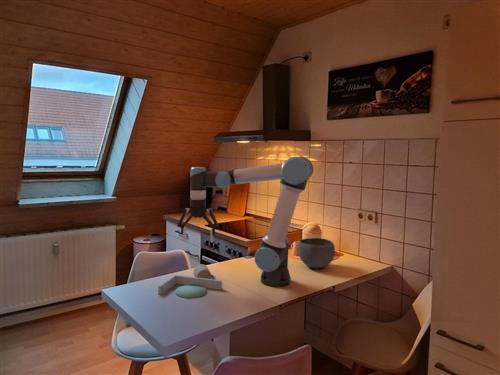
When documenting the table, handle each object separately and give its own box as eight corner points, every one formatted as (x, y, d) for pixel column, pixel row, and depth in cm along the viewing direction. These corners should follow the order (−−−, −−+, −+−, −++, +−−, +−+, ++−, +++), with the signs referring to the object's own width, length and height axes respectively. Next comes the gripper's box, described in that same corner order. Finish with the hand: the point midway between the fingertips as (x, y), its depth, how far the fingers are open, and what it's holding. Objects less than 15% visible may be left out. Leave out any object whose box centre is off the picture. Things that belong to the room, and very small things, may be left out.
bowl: (329, 261, 228) (330, 237, 226) (338, 273, 207) (340, 246, 205) (294, 261, 227) (295, 236, 226) (300, 272, 206) (301, 245, 205)
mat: (210, 288, 178) (210, 287, 178) (199, 299, 165) (199, 298, 165) (183, 285, 182) (183, 283, 182) (170, 295, 169) (170, 293, 168)
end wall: (175, 283, 184) (175, 275, 183) (160, 294, 169) (160, 286, 169) (173, 283, 184) (173, 275, 184) (158, 294, 169) (158, 285, 169)
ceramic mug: (196, 284, 183) (197, 269, 182) (193, 279, 191) (193, 264, 190) (217, 283, 187) (218, 267, 186) (213, 277, 194) (213, 263, 194)
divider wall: (222, 288, 179) (222, 280, 178) (221, 289, 177) (221, 281, 177) (175, 282, 185) (175, 274, 184) (174, 283, 184) (174, 275, 183)
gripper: (224, 198, 188) (224, 240, 190) (174, 197, 189) (175, 238, 191) (222, 200, 181) (222, 243, 183) (170, 199, 182) (171, 242, 184)
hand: (198, 241), depth 187 cm, fingers open, 13 cm apart
